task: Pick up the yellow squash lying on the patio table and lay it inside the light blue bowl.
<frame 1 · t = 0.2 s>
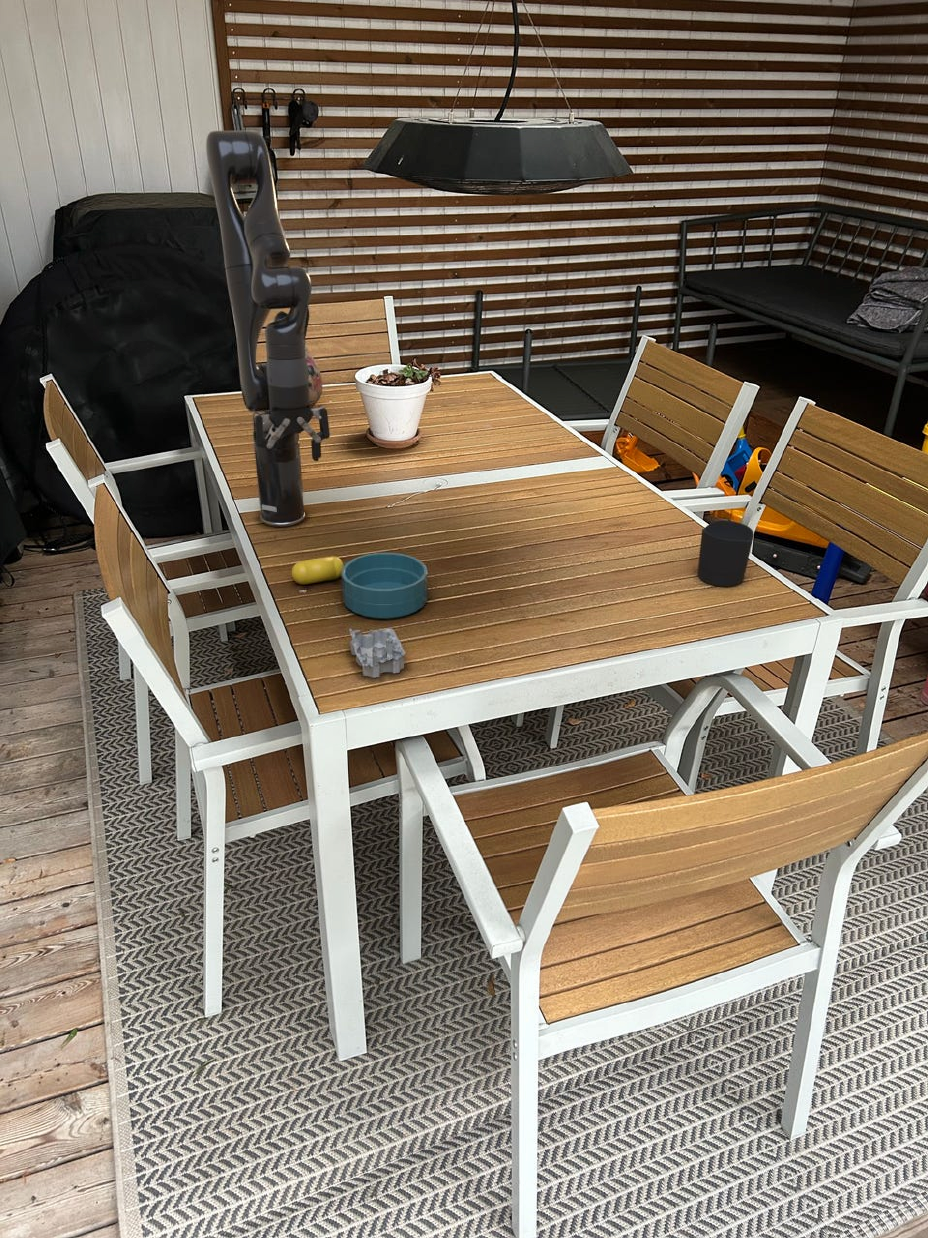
hand: (294, 462, 185), 17 cm above the table, tool pointing down, fingers open, 8 cm apart
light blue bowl: (385, 600, 172), on the table
pen holder: (719, 578, 183), on the table
ceramic jug: (298, 412, 270), on the table
egg carton: (377, 661, 154), on the table
squash: (318, 580, 179), on the table
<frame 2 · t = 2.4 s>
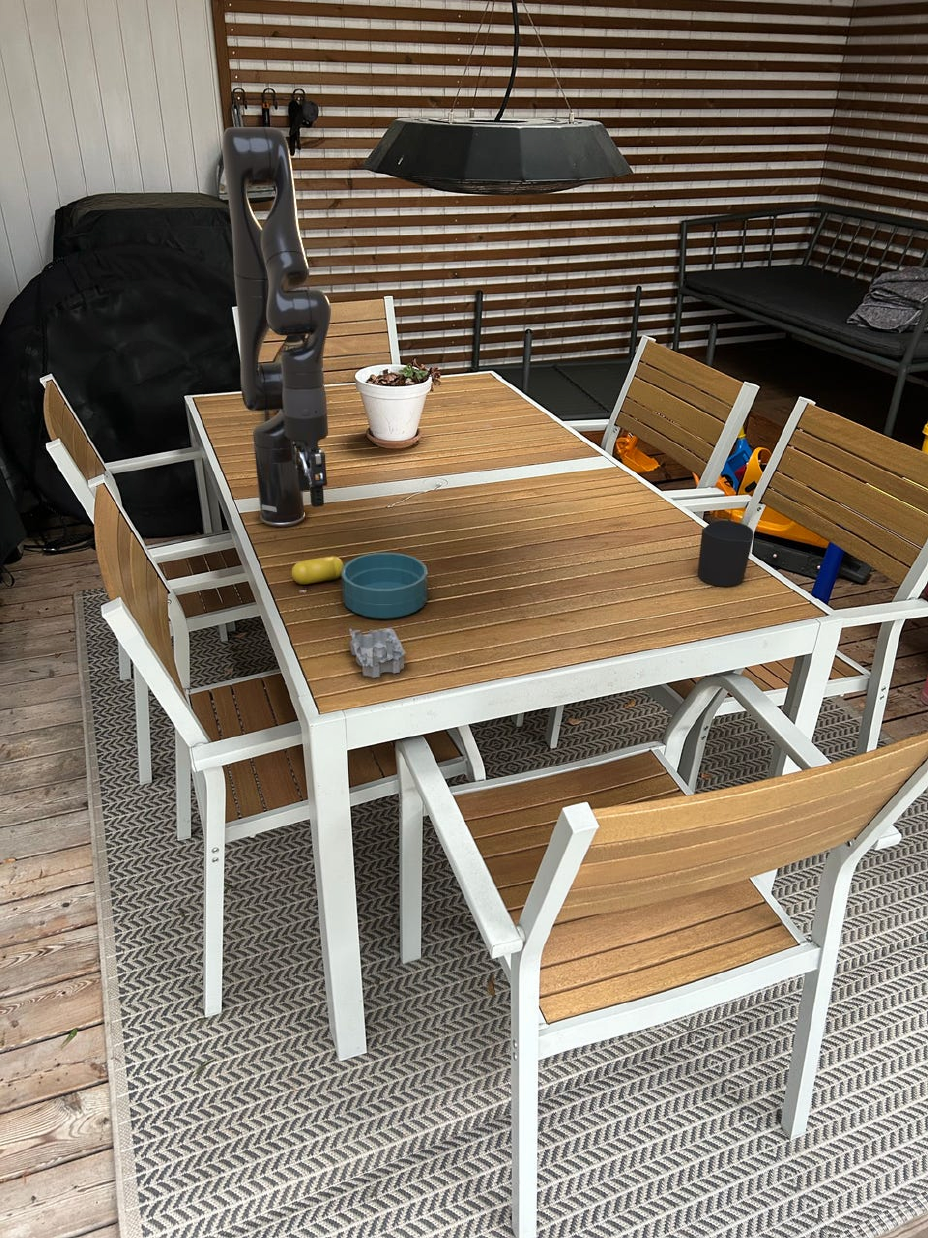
hand: (311, 497, 173), 16 cm above the table, tool pointing down, fingers open, 8 cm apart
nothing on the table moved.
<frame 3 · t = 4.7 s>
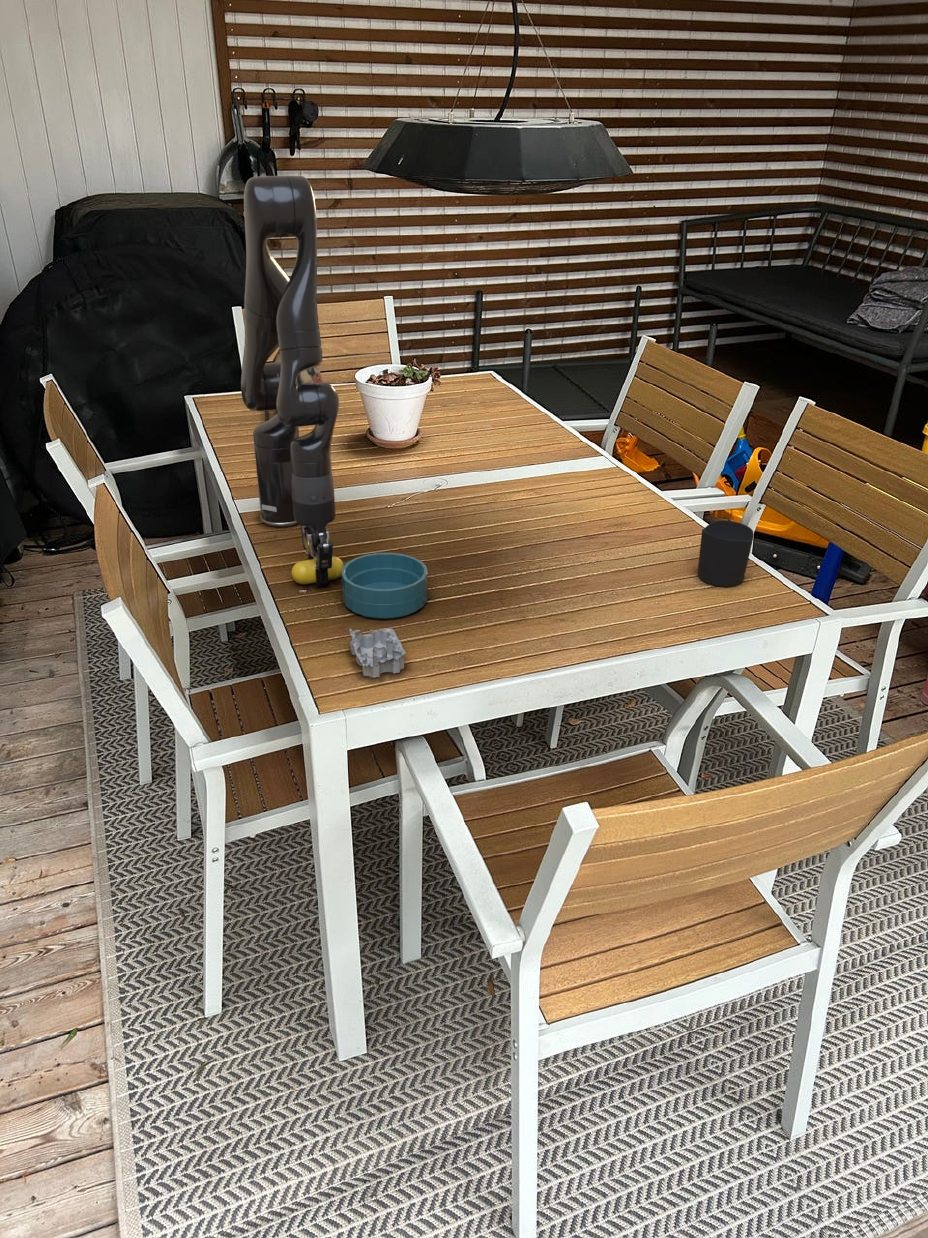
hand: (318, 579, 178), 0 cm above the table, tool pointing down, fingers closed on squash, 4 cm apart
squash: (318, 580, 179), on the table, touching gripper
everything else where it was.
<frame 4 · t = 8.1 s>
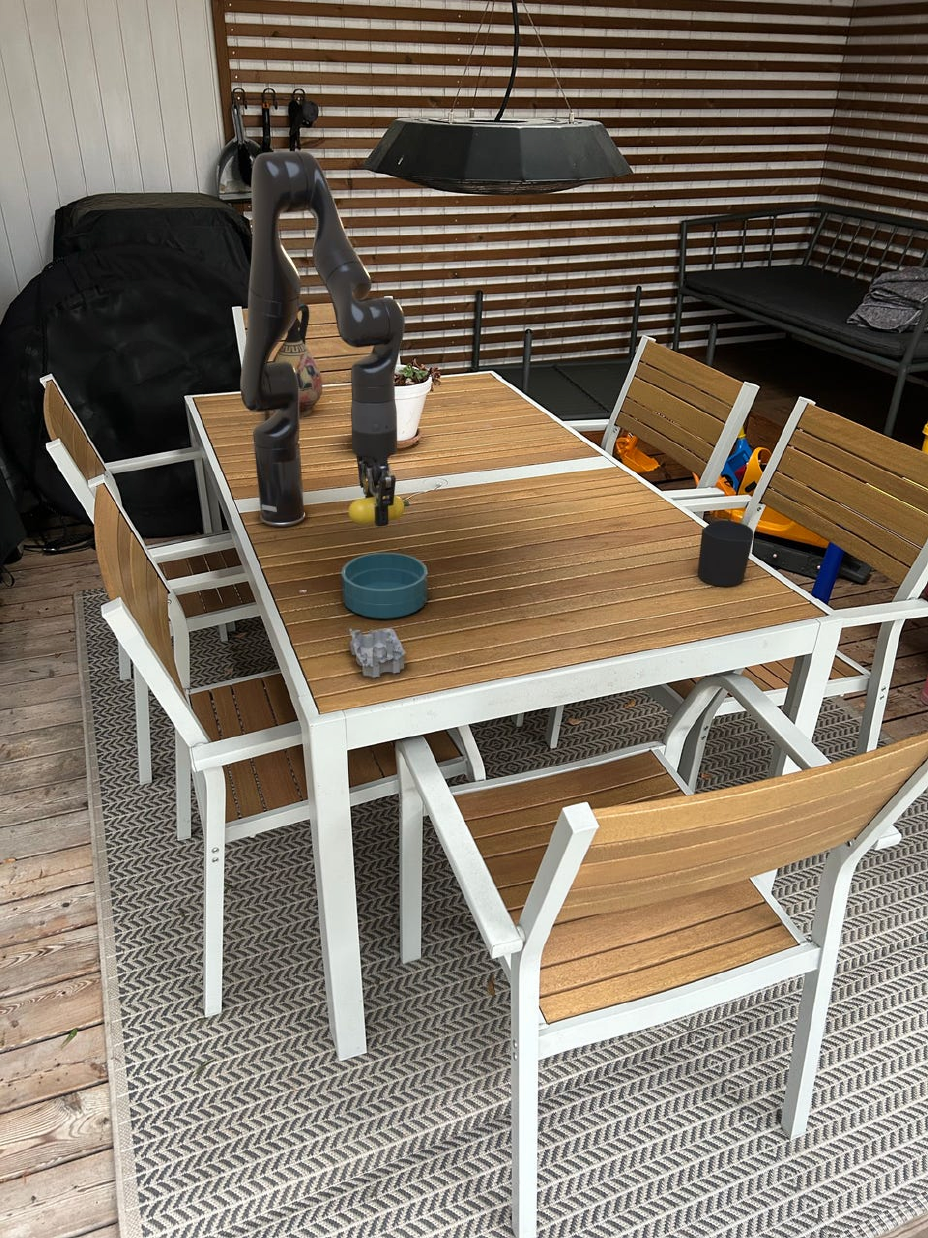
hand: (377, 519, 165), 16 cm above the table, tool pointing down, fingers closed on squash, 4 cm apart
squash: (377, 521, 165), point 15 cm above the table, touching gripper
everything else where it was.
when the fingers open (1 cm above the table, at t = 11.8 s): squash stays where it is, resting on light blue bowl.
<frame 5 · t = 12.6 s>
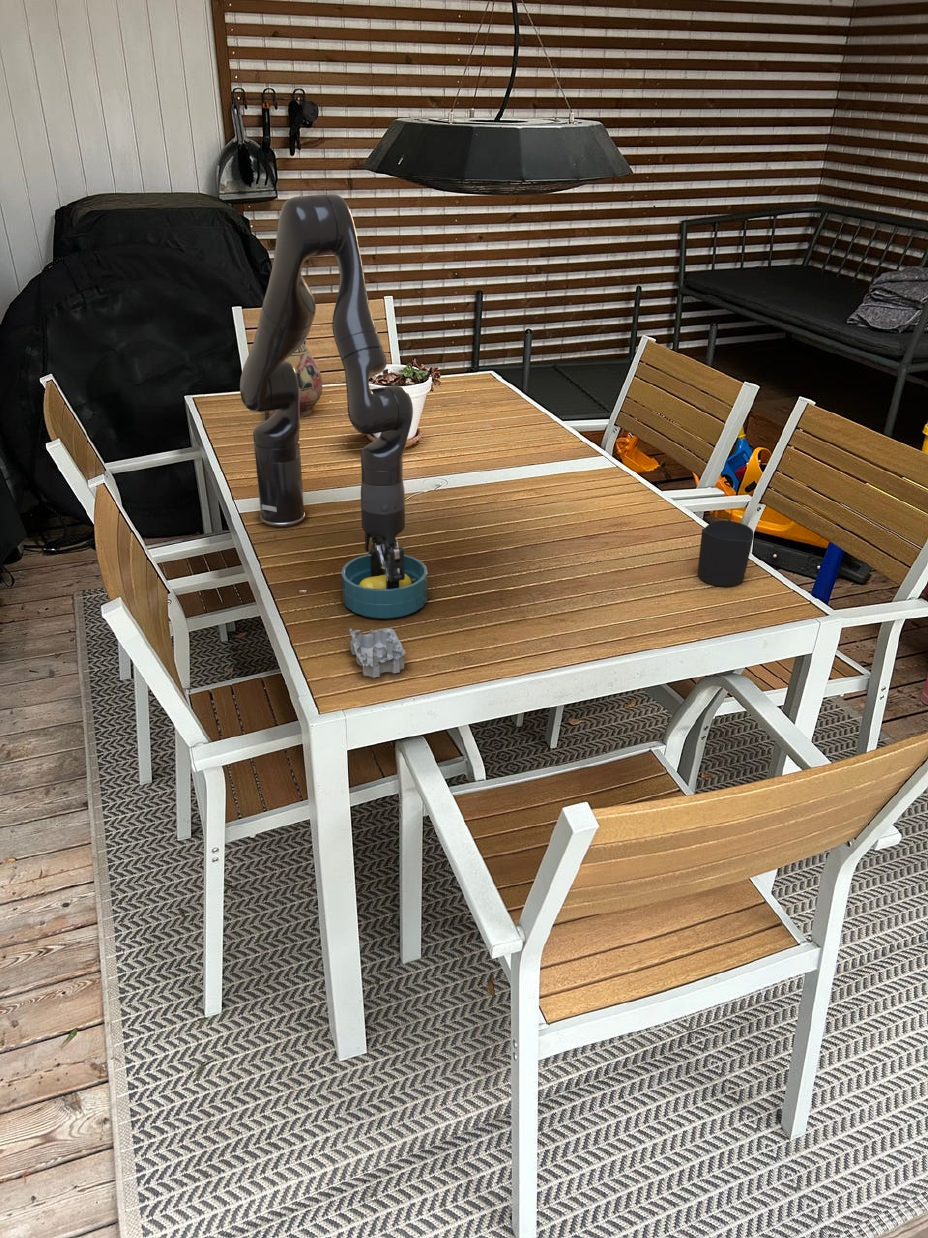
hand: (384, 587, 171), 3 cm above the table, tool pointing down, fingers open, 8 cm apart
squash: (385, 597, 172), point 1 cm above the table, touching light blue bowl
everything else where it was.
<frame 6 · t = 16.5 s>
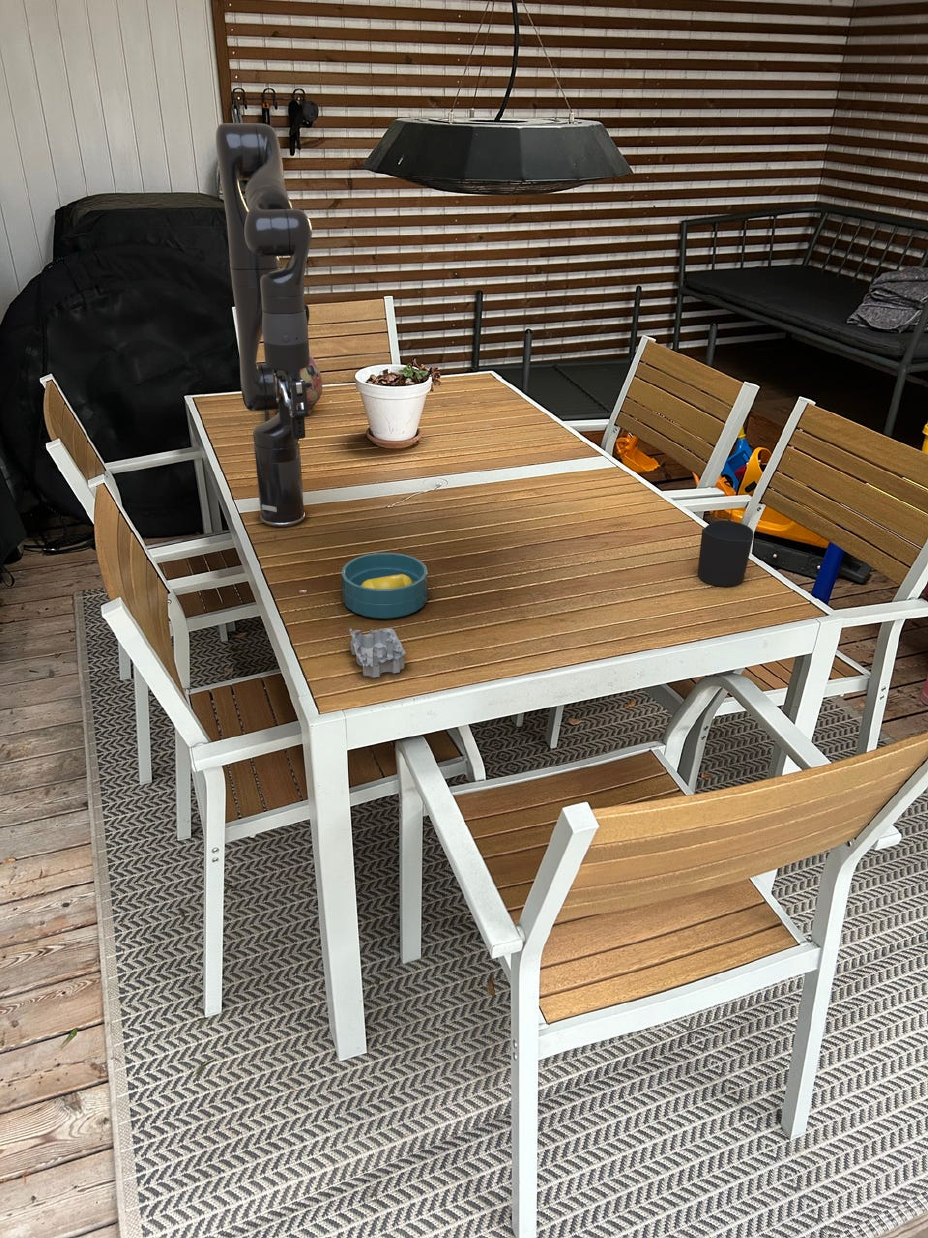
hand: (292, 431, 167), 28 cm above the table, tool pointing down, fingers open, 8 cm apart
squash: (385, 597, 172), point 1 cm above the table, tilted 21°, touching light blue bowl
everything else where it was.
at the end: squash inside the target area in the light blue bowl (0.1 cm from its centre), point 0.7 cm above the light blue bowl's base; the gripper is holding nothing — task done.
